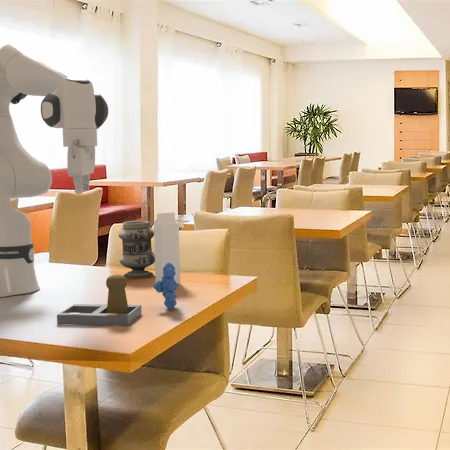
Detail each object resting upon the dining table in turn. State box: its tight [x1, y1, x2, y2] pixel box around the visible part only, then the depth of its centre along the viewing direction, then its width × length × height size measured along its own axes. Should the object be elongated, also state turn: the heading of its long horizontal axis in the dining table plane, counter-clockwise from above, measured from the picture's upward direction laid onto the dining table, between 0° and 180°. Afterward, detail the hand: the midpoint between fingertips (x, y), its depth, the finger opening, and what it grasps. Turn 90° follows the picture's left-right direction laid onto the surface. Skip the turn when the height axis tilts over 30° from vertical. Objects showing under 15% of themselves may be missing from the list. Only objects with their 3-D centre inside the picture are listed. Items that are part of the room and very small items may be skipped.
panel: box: [56, 303, 143, 327], centre depth 189 cm, size 18×12×3 cm, turn 81°
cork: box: [105, 274, 129, 314], centre depth 188 cm, size 6×6×11 cm
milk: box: [153, 212, 181, 285], centre depth 233 cm, size 6×6×22 cm
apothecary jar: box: [118, 220, 155, 280], centre depth 247 cm, size 12×12×18 cm
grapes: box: [153, 263, 180, 310], centre depth 199 cm, size 12×7×12 cm, turn 5°
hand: (82, 192), depth 199 cm, fingers open, 8 cm apart
